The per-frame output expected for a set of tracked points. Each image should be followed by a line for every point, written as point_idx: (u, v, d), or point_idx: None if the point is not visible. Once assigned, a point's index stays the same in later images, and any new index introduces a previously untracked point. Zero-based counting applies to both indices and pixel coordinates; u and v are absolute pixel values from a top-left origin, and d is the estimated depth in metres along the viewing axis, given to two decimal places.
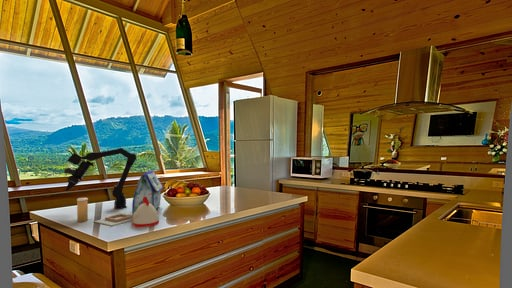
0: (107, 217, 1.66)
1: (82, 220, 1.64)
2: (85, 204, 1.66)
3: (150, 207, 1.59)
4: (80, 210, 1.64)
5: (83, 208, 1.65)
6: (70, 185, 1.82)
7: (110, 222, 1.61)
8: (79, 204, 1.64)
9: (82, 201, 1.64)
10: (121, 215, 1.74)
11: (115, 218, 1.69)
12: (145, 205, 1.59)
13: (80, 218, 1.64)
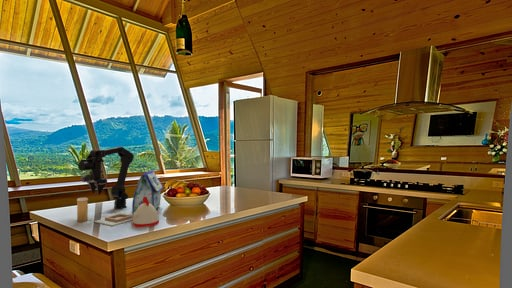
0: (107, 217, 1.66)
1: (82, 220, 1.64)
2: (85, 204, 1.66)
3: (150, 207, 1.59)
4: (80, 210, 1.64)
5: (83, 208, 1.65)
6: (100, 188, 1.78)
7: (110, 222, 1.61)
8: (79, 204, 1.64)
9: (82, 201, 1.64)
10: (121, 215, 1.74)
11: (115, 218, 1.69)
12: (145, 205, 1.59)
13: (80, 218, 1.64)
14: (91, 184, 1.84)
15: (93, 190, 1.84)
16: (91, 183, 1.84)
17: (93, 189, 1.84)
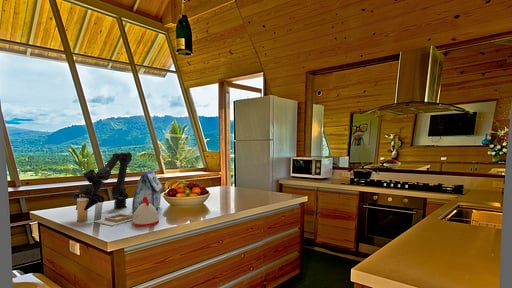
0: (107, 217, 1.66)
1: (82, 220, 1.64)
2: (85, 204, 1.66)
3: (150, 207, 1.59)
4: (80, 210, 1.64)
5: (83, 208, 1.65)
6: (90, 204, 1.67)
7: (110, 222, 1.61)
8: (79, 204, 1.64)
9: (82, 201, 1.64)
10: (121, 215, 1.74)
11: (115, 218, 1.69)
12: (145, 205, 1.59)
13: (80, 218, 1.64)
14: None
15: None
16: None
17: None
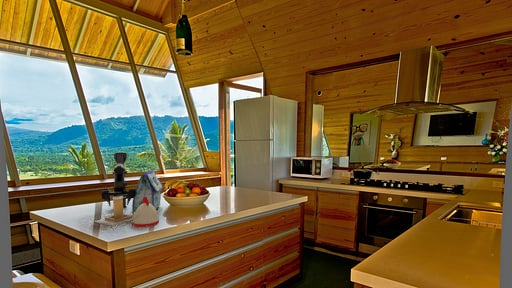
0: (107, 217, 1.66)
1: (121, 217, 1.67)
2: (122, 202, 1.69)
3: (150, 207, 1.59)
4: (119, 208, 1.66)
5: (122, 205, 1.68)
6: (129, 199, 1.72)
7: (110, 222, 1.61)
8: (118, 202, 1.66)
9: (121, 199, 1.67)
10: None
11: None
12: (145, 205, 1.59)
13: (120, 216, 1.67)
14: (109, 197, 1.68)
15: (110, 204, 1.67)
16: (109, 196, 1.69)
17: None
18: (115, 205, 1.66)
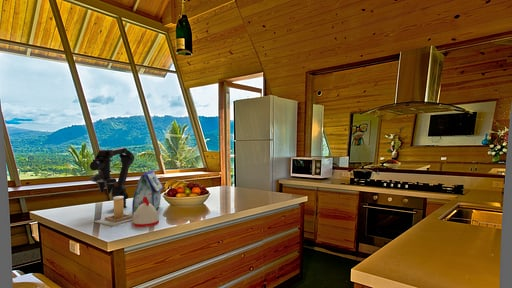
0: (107, 217, 1.66)
1: (122, 217, 1.67)
2: None
3: (150, 207, 1.59)
4: (120, 208, 1.67)
5: (122, 205, 1.68)
6: (109, 187, 1.80)
7: (110, 222, 1.61)
8: (119, 202, 1.66)
9: (121, 199, 1.67)
10: None
11: None
12: (145, 205, 1.59)
13: (120, 216, 1.67)
14: (100, 184, 1.86)
15: (102, 189, 1.86)
16: (100, 183, 1.86)
17: (102, 188, 1.86)
18: (115, 205, 1.66)
